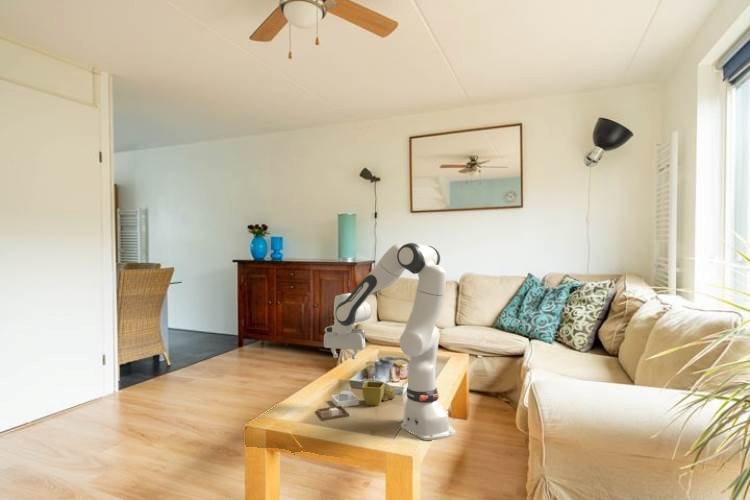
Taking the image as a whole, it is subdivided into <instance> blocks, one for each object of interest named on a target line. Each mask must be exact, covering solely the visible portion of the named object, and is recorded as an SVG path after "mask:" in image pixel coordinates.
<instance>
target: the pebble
mask: <svg viewBox="0 0 750 500" xmlns="http://www.w3.org/2000/svg"><path fill="white" fill-rule="evenodd" d="M352 393H353V391H351V390H350V391H349V390H341V391H340V392H339V393H338V395H339V402H340V401H346V400H352Z"/></svg>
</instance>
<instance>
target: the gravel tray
mask: <svg viewBox="0 0 750 500" xmlns="http://www.w3.org/2000/svg"><path fill="white" fill-rule="evenodd" d="M331 408H337V409H338V410H339V415H337V416H331V417H330V416H329V409H331ZM316 412H317V414H318V415H319V416H320V418H321V420H322V421H324V422H325V421H330V420H336V419H343V418H348V417H350V413H349V412H348V411H347V410H346V409H345V407H342V406H336V405H335V406H329V407H321V408H317V409H316Z"/></svg>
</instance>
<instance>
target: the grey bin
mask: <svg viewBox="0 0 750 500" xmlns="http://www.w3.org/2000/svg"><path fill="white" fill-rule="evenodd" d="M331 403H333V405H335V406H342V407H343V408H346V407H353V406H359V405H360V398H359V397H357V396H356V395H355V394H354V393H353V392H352V400H346V401H340V402H339V394H333V395H332V394H331Z"/></svg>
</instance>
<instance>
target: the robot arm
mask: <svg viewBox="0 0 750 500" xmlns="http://www.w3.org/2000/svg"><path fill="white" fill-rule="evenodd" d="M440 262H441V255H440V252H439V251H438V249H437V248H435V247H433V246H431V245H426V244H423V243H418V242H417V243H414V242H409V243H408V242H407V243H405V244H398V243H397V244H393V245H392V246H391V247H390V248H388V250H387V251H385V253H384V254H383V255H382V256H381V258H380V259H379V261H378V262H377V263H376V265H374V266H373V268H372V270H371V271H370V272H369V273H368V274H367V275H366V277H364V278H363V280H361V282H359V284H358V285H357V286H356V287H355V289H354V290H353V291H352V292H351V293H350V292H343V293H338V294H337V295H335V298H334V302H333V304H334V305H333V314H334V320H333V322H334V324H331V325H329V326H327V327H325V328H324V332H325V333H324V335H323V347H324V348H325V349H330V352H331V353H332V354H333V355H332V356H333V358H334V359H337V358H338V357H339V353H337V351H336V350H337V349H341V350H343V349H344V350H353V354H351V359H352V360H356V359H357V354H358V352H359V351H362V350H364V349H365V348H366V347H367V346H366V339H365V337H366V333H365V331H364V330H363V328H354V326H355V325H354V324H359V323H362V322H366V321H368V320H369V319H370V318H371V315H372V307H371V305H370V303H369V302H368V301H367V299H369V298H368V297H370V296H371V295H372V294H374V293H376V292H378V291H382V290H383V289H387V288H389V287H391V286H392V285H393V284H394V283H396V282H397V281H398V280H399V278H400V277H401V276H402V274H403V273H404V271H405V270H407V271H408V272H410V273H411V274H413V275H417V276H418V281H417V283H418V284H417V287H416V292H415V296H414V301H413V306H412V309H411V313H410V315H409V317H408V319H407V322H406V325H405V328H404V330H403V332H402V334H401V335H400V337H399V349H400V350H401V351H402V353H404V355H406V356H408V357H410V358H409V359H410V360H409V362H408V365H407V387H406V397H407V399H406V401H405V404H404V405H403V406H404V407H403V420H402V421H403V422H401V423H400V428H401V429H403V430H405V429H406V430H405V431H407V430H408V431H407V432H409V431H410V432H412V433H414V434H415V435H414V434H413V435H414V436H416V435H417V436H416V437H418V438H419V439H422V440H424V441H436V440H442V439H448V438H450V437H452V436H455V435H456V434H457V432H456V430H455V429H454V427H453V426H452V425H451V424H450V421H449V419H450V418H449V415H450V414H449V411H448V410H445V409H444V407H443V404H441V402H440V399H439V397H440V394H439V392H438V388H437V385H436V365H437V359H438V352H439V351H438V350H439V343H440V342H439V341H440V339H441V333H440V329H439V328H438V327H437V326H436V325H437V322H438V320H439V317H440V316H441V312H442V307H443V302H444V298H445V293H446V287H447V286H446V285H447V272H446V270H445V268H443V266H441V265H440ZM410 432H409V433H410ZM412 433H411V434H412Z"/></svg>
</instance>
